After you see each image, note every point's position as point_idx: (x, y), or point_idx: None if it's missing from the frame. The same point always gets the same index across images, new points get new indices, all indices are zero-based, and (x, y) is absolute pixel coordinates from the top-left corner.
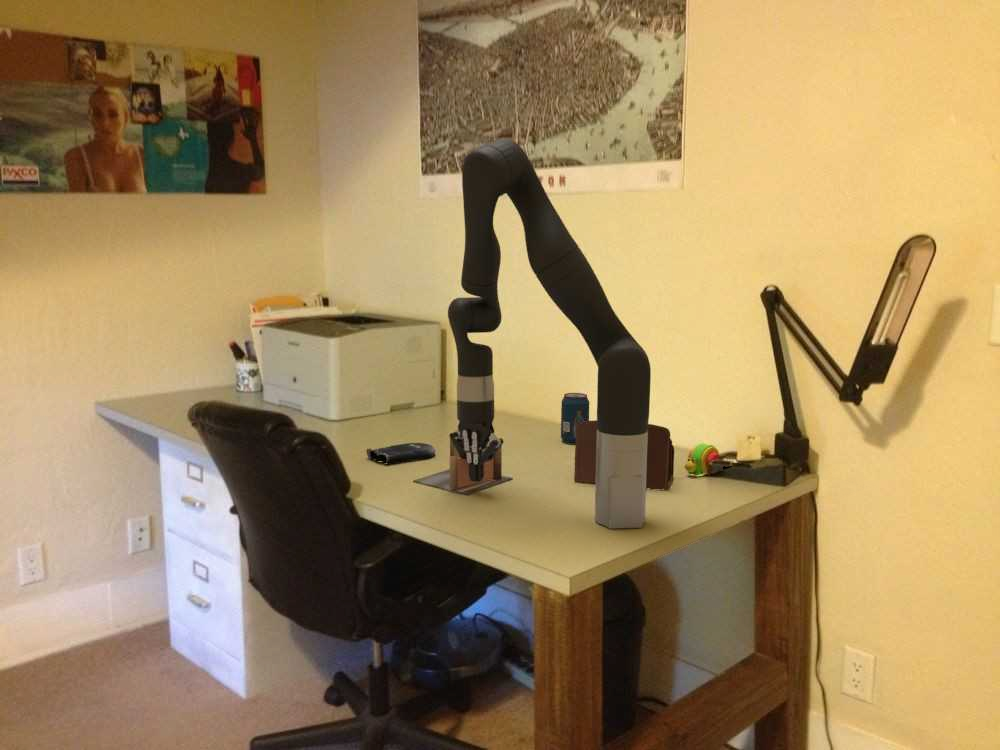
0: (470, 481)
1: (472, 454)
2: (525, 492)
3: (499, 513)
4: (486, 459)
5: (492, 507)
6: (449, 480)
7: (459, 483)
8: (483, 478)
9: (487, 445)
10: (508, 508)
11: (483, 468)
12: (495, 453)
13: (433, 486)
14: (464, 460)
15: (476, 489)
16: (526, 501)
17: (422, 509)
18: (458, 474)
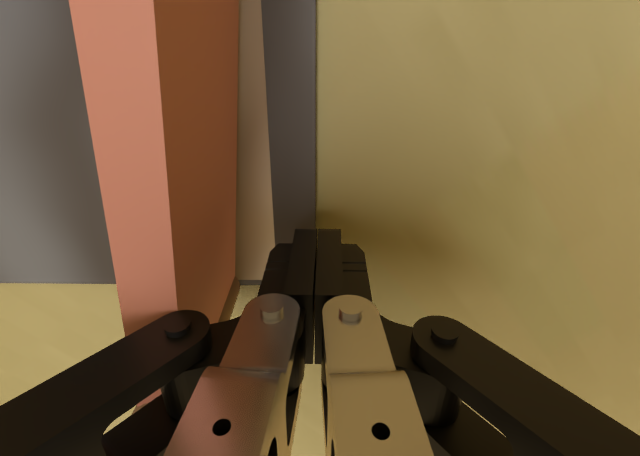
0: (233, 199)
1: (293, 422)
2: (564, 39)
3: (566, 360)
4: (468, 412)
5: (507, 329)
6: (62, 173)
7: (230, 275)
8: (235, 83)
9: (424, 430)
10: (577, 304)
11: (368, 287)
12: (555, 392)
13: (101, 281)
14: None
15: (302, 207)
16: (628, 181)
17: (303, 452)
18: (217, 316)
